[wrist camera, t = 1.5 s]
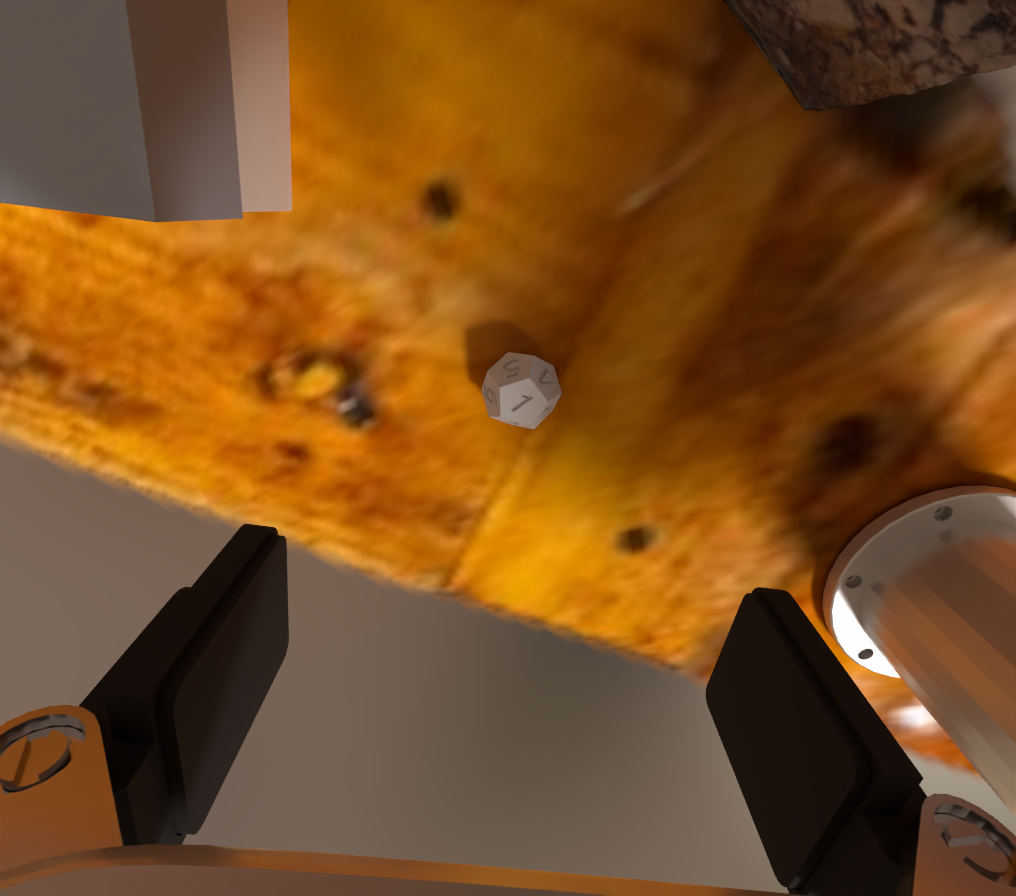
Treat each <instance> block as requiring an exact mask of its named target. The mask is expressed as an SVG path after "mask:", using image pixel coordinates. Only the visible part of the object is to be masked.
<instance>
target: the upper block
mask: <svg viewBox="0 0 1016 896" xmlns="http://www.w3.org/2000/svg"><path fill="white" fill-rule="evenodd" d="M0 203H7V204H15V205H23V206H31V207H39V208H47V209H55V210H63V211H71V212H79V213H87V214H95V215H104V216H112V217H120V218H128V219H136V220H144V221H152V222H169V221H194V220H218V219H243V214H242V201H241V188H240V175H239V162H238V149H237V136H236V123H235V110H234V97H233V84H232V71H231V58H230V45H229V31H228V18H227V5H226V0H0Z"/></svg>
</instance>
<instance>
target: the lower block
mask: <svg viewBox="0 0 1016 896" xmlns="http://www.w3.org/2000/svg"><path fill="white" fill-rule="evenodd" d="M226 5H227V18H228V31H229V45H230V58H231V71H232V84H233V97H234V110H235V123H236V136H237V149H238V162H239V175H240V188H241V201H242V212H251V211H292V188H291V139H290V90H289V41H288V0H226Z"/></svg>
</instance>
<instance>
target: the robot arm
mask: <svg viewBox="0 0 1016 896" xmlns="http://www.w3.org/2000/svg"><path fill="white" fill-rule="evenodd" d="M287 589H288V588H287V546H286V538H285V537H284V536H279V535H278V532H277V529H276V528H274V527H268V526H260V525H251V524H244V525H243V526H242V527H240V529H239V530H238V531H237V532H236V534H235V535H234V536H233V537H232V539H231V540H230V541H229V542H228V543H227V544H226V546H225V547H224V548H223V549H222V550H221V552H220V553H219V554H218V555H217V557H216V558H215V559H214V560H213V561H212V563H211V564H210V565H209V566H208V567H207V569H206V570H205V571H204V572H203V573H202V575H201V576H200V577H199V578H198V580H197V581H196V582H195V583H194V584H193V586H192V587H184V588H182V589H180V590H178V592H176V593H175V594H174V595H173V596H172V597H171V599H170V600H169V601H168V602H167V603H166V605H165V606H164V607H163V608H162V609H161V610H160V612H159V613H158V614H157V615H156V616H155V618H154V619H153V620H152V621H151V622H150V623H149V624H148V626H147V627H146V628H145V629H144V630H143V631H142V633H141V634H140V635H139V636H138V637H137V639H136V640H135V641H134V642H133V643H132V644H131V645H130V647H129V648H128V649H127V650H126V651H125V652H124V654H123V655H122V656H121V657H120V658H119V660H118V661H117V662H116V663H115V664H114V666H113V667H112V668H111V669H110V670H109V671H108V672H107V674H106V675H105V676H104V677H103V678H102V679H101V681H100V682H99V683H98V684H97V685H96V687H95V688H94V689H93V690H92V691H91V692H90V693H89V695H88V696H87V697H86V698H85V699H84V700H83V702H82V703H81V704H80V705H79V706H72V705H59V706H48V707H45V708H41V709H38V710H34V711H30V712H27V713H25V714H23V715H20V716H18V717H16V718H14V719H12V720H9V721H7V722H6V723H4V724H3V725H1V726H0V896H1016V836H1015V835H1014V834H1013V833H1012V832H1011V831H1010V830H1008V829H1007V828H1006V827H1005V826H1004V825H1003V824H1002V823H1000V822H999V821H998V820H997V819H995V818H994V817H993V816H991V815H989V814H988V813H987V812H985V811H984V810H983V809H981V808H980V807H978V806H976V805H974V804H972V803H970V802H968V801H966V800H964V799H962V798H958V797H955V796H951V795H948V794H933V795H931V796H929V797H927V796H926V794H925V793H924V791H923V790H922V789H921V787H920V786H919V784H920V782H921V781H922V780H923V777H922V776H921V774H920V773H919V771H918V770H917V769H916V767H915V766H914V765H913V763H912V762H911V760H910V759H909V758H908V756H907V755H906V753H905V752H904V751H903V749H902V748H901V747H900V745H899V744H898V742H897V741H896V740H895V738H894V737H893V735H892V734H891V733H890V731H889V730H888V729H887V727H886V726H885V724H884V723H883V722H882V720H881V719H880V717H879V716H878V715H877V713H876V712H875V711H874V709H873V708H872V706H871V705H870V704H869V702H868V701H867V699H866V698H865V697H864V695H863V694H862V693H861V691H860V690H859V688H858V687H857V686H856V684H855V683H854V681H853V680H852V679H851V677H850V676H849V675H848V673H847V672H846V670H845V669H844V668H843V666H842V665H841V663H840V662H839V661H838V659H837V658H836V657H835V655H834V654H833V652H832V651H831V650H830V648H829V647H828V645H827V644H826V643H825V641H824V640H823V639H822V637H821V636H820V634H819V633H818V632H817V630H816V629H815V627H814V626H813V625H812V623H811V622H810V621H809V619H808V618H807V616H806V615H805V614H804V612H803V611H802V610H801V608H800V607H799V605H798V604H797V603H796V601H795V600H794V598H793V597H792V596H791V595H790V594H789V593H788V592H787V591H785V590H778V589H770V588H761V587H758V588H755V589H754V590H753V591H752V593H748V594H746V595H745V596H744V598H743V600H742V602H741V604H740V607H739V609H738V612H737V614H736V616H735V619H734V621H733V624H732V626H731V629H730V631H729V633H728V636H727V638H726V641H725V643H724V646H723V648H722V650H721V653H720V655H719V658H718V660H717V663H716V665H715V667H714V670H713V672H712V675H711V677H710V680H709V682H708V684H707V688H706V701H707V705H708V708H709V710H710V713H711V715H712V718H713V720H714V723H715V725H716V728H717V730H718V733H719V736H720V738H721V740H722V743H723V746H724V748H725V750H726V753H727V756H728V758H729V761H730V763H731V766H732V768H733V771H734V773H735V776H736V778H737V781H738V783H739V786H740V788H741V791H742V793H743V796H744V798H745V801H746V803H747V806H748V808H749V811H750V814H751V816H752V819H753V821H754V824H755V826H756V829H757V831H758V833H759V836H760V839H761V841H762V844H763V846H764V849H765V851H766V854H767V856H768V859H769V861H770V864H771V866H772V869H773V871H774V874H775V876H776V878H777V880H778V881H779V882H780V884H781V885H782V886H784V887H787V889H788V891H789V894H785V893H775V892H765V891H754V890H743V889H733V888H722V887H711V886H700V885H689V884H680V883H669V882H658V881H648V880H637V879H625V878H613V877H603V876H591V875H581V874H569V873H558V872H546V871H535V870H523V869H512V868H500V867H489V866H478V865H466V864H454V863H442V862H430V861H418V860H406V859H393V858H381V857H369V856H357V855H344V854H333V853H332V854H331V853H320V852H308V851H292V850H276V849H260V848H245V847H244V848H243V847H229V846H213V845H181V844H182V843H183V841H184V839H185V837H186V835H187V834H193V835H194V834H196V833H197V832H198V831H199V830H200V828H201V826H202V824H203V823H204V820H205V819H206V817H207V815H208V813H209V810H210V808H211V807H212V804H213V802H214V800H215V798H216V796H217V794H218V792H219V790H220V788H221V786H222V784H223V782H224V780H225V778H226V776H227V774H228V772H229V770H230V768H231V766H232V764H233V762H234V760H235V758H236V756H237V754H238V751H239V750H240V747H241V746H242V743H243V741H244V739H245V737H246V735H247V733H248V731H249V729H250V727H251V725H252V723H253V721H254V719H255V717H256V715H257V713H258V711H259V709H260V707H261V705H262V703H263V701H264V699H265V696H266V694H267V693H268V691H269V689H270V687H271V685H272V682H273V680H274V678H275V676H276V674H277V672H278V670H279V668H280V666H281V664H282V662H283V660H284V658H285V655H286V652H287V648H288V642H289V630H288V591H287ZM823 613H824V618H825V623H826V625H827V627H828V629H829V631H830V633H831V635H832V637H833V638H834V639H835V641H836V642H837V643H838V645H839V646H840V647H841V649H842V650H843V651H844V653H845V654H846V655H848V656H849V657H850V658H851V659H852V660H853V661H854V662H856V663H857V664H859V665H861V666H863V667H865V668H867V669H869V670H871V671H873V672H876V673H880V674H883V675H886V676H891V677H899V678H901V679H902V680H903V681H904V682H905V683H906V685H907V686H908V687H909V688H910V690H911V691H912V692H913V693H914V694H915V696H916V697H917V698H918V699H919V701H920V702H921V703H922V704H923V705H924V707H925V708H926V709H927V710H928V712H929V713H930V714H931V715H932V716H933V718H934V719H935V720H936V721H937V722H938V724H939V725H940V726H941V727H942V729H943V730H944V731H945V732H946V733H947V735H948V736H949V737H950V738H951V740H952V741H953V742H954V743H955V744H956V746H957V747H958V748H959V749H960V751H961V752H962V753H963V754H964V755H965V757H966V758H967V759H968V760H969V762H970V763H971V764H972V765H973V766H974V768H975V769H976V770H977V771H978V773H979V774H980V775H981V776H982V777H983V779H984V780H985V781H986V782H987V783H988V785H989V786H990V787H991V788H992V790H993V791H994V792H995V793H996V795H997V796H998V797H999V798H1000V799H1001V801H1002V802H1003V803H1004V804H1005V806H1006V807H1007V808H1008V809H1009V810H1010V812H1011V813H1012V814H1013V815H1014V817H1015V818H1016V492H1015V491H1012V490H1010V489H1007V488H1000V487H993V486H986V485H976V486H958V487H952V488H947V489H942V490H936V491H933V492H930V493H927V494H924V495H921V496H918V497H916V498H913V499H910V500H908V501H906V502H904V503H902V504H900V505H898V506H896V507H894V508H892V509H890V510H889V511H887V512H886V513H884V514H883V515H881V516H880V517H878V518H877V519H875V520H874V521H872V522H871V523H870V524H868V525H867V526H866V527H865V528H864V529H863V530H862V531H861V532H860V533H858V534H857V535H856V536H855V537H854V538H853V539H852V540H851V541H850V542H849V544H848V545H847V546H846V547H845V549H844V550H843V551H842V553H841V554H840V555H839V556H838V558H837V560H836V562H835V563H834V565H833V567H832V569H831V571H830V573H829V575H828V578H827V581H826V585H825V588H824V591H823Z"/></svg>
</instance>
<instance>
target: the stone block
mask: <svg viewBox="0 0 1016 896" xmlns="http://www.w3.org/2000/svg"><path fill="white" fill-rule="evenodd" d="M724 1H725V2H726V4H727V5H728V6H729V8H730V9H731V10H732V12H733V13H734V14H735V16H736V17H737V18H738V20H739V21H740V22H741V24H742V25H743V26H744V28H745V29H746V30H747V32H748V33H749V34H750V36H751V37H752V38H753V40H754V41H755V42H756V44H757V45H758V47H759V48H760V49H761V51H762V52H763V53H764V55H765V56H766V57H767V59H768V60H769V62H770V63H771V65H772V66H773V68H774V69H775V70H776V72H777V73H778V74H779V75H780V76H781V78H782V79H783V80H784V81H785V82H786V83H787V85H788V86H789V88H790V89H791V91H792V92H793V94H794V95H795V97H796V98H797V100H798V101H799V103H800V104H801V106H802V107H803V108H804V109H805V110H811V109H814V110H816V111H823V110H827V109H832V108H839V107H844V106H854V105H862V104H866V103H869V102H873V101H874V100H876V99H882V98H886V97H890V96H895V95H900V94H905V95H910V94H914V93H917V92H920V91H922V90H925V89H928V88H931V87H934V86H940V85H945V84H947V83H949V82H951V81H955V80H958V79H962V78H965V77H968V76H970V75H973V74H975V73H988V72H992V71H995V70H999V69H1005V68H1010V67H1012V66H1014V65H1016V0H724Z"/></svg>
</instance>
